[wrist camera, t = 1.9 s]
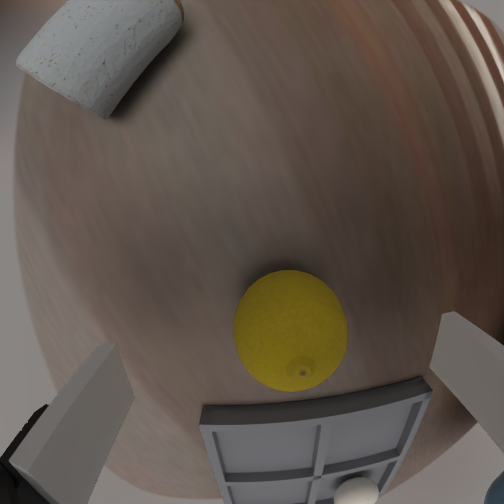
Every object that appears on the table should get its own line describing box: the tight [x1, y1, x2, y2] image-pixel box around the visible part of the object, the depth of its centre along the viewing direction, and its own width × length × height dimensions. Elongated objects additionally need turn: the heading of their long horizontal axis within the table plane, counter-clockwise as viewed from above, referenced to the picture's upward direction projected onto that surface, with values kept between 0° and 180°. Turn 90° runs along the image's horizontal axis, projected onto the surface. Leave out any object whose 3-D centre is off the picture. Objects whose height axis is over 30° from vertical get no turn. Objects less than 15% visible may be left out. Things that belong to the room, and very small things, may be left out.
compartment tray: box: [199, 377, 433, 504], centre depth 20 cm, size 18×18×2 cm
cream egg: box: [333, 477, 379, 504], centre depth 19 cm, size 5×5×5 cm
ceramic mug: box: [16, 0, 184, 119], centre depth 10 cm, size 11×8×8 cm
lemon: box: [233, 270, 348, 392], centre depth 14 cm, size 6×6×8 cm
